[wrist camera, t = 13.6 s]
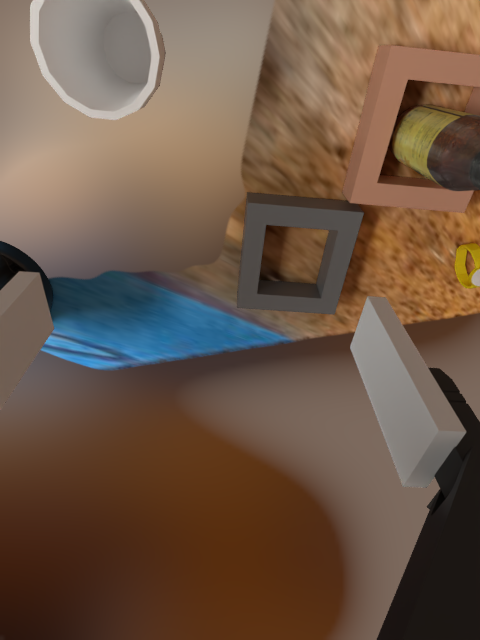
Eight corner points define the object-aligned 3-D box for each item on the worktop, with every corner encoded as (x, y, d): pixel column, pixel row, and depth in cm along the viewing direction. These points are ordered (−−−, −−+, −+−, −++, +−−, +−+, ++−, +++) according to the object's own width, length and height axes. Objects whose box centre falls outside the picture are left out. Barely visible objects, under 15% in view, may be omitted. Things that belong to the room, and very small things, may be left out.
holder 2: (342, 192, 47) (349, 202, 44) (378, 45, 38) (391, 45, 35) (448, 201, 48) (464, 212, 44) (508, 60, 39) (533, 60, 36)
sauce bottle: (385, 166, 45) (467, 231, 29) (386, 109, 41) (481, 147, 25) (441, 154, 44) (557, 214, 28) (447, 95, 41) (584, 124, 25)
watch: (451, 240, 51) (473, 256, 46) (472, 235, 51) (497, 252, 46) (448, 278, 54) (469, 298, 49) (468, 274, 54) (491, 294, 49)
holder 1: (237, 292, 56) (237, 307, 52) (247, 192, 47) (247, 202, 44) (328, 299, 56) (334, 314, 53) (355, 201, 48) (364, 212, 44)
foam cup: (92, -30, 35) (30, -65, 24) (189, 11, 36) (170, -5, 26) (84, 84, 40) (30, 96, 29) (169, 115, 42) (146, 136, 31)
